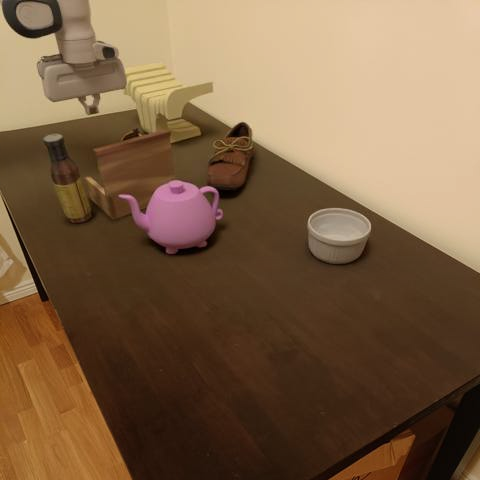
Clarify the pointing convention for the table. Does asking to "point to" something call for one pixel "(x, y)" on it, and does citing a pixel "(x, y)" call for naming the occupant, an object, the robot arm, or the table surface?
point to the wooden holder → (131, 172)
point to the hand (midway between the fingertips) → (92, 113)
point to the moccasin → (231, 159)
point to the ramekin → (337, 235)
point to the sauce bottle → (67, 181)
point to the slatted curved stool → (162, 99)
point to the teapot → (178, 215)
